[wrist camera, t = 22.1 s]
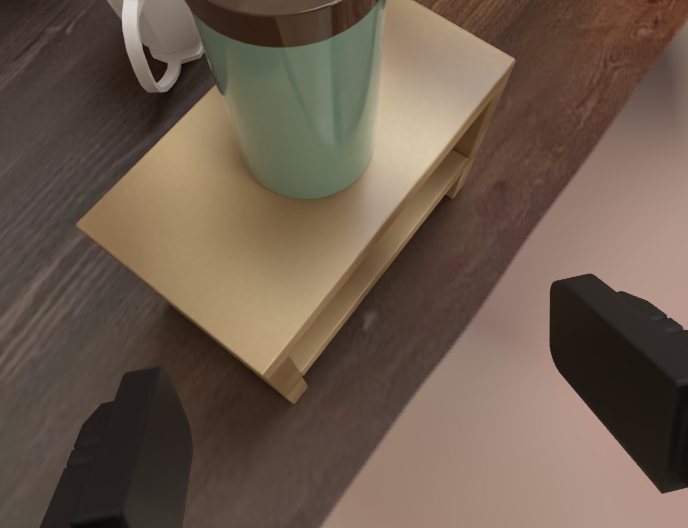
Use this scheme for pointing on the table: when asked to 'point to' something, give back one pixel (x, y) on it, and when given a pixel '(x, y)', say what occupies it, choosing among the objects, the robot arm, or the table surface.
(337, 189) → the jar
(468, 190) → the table surface
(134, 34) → the cup
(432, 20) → the shelf
